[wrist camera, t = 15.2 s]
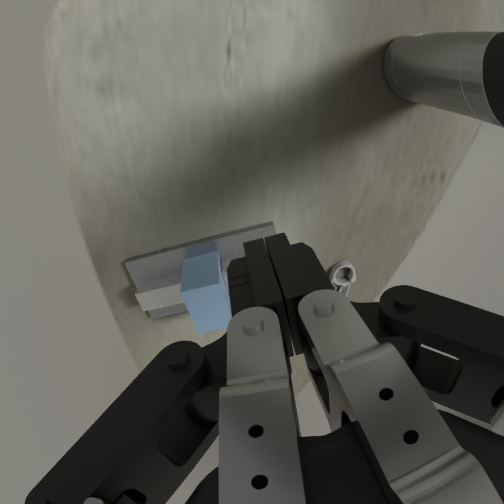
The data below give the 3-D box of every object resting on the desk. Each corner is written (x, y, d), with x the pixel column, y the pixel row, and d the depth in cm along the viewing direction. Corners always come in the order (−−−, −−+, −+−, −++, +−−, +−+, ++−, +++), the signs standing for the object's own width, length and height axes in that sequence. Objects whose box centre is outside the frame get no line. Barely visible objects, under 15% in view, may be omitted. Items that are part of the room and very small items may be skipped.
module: (217, 250, 41) (219, 283, 35) (230, 291, 44) (234, 325, 38) (183, 259, 41) (180, 292, 35) (198, 298, 44) (198, 333, 38)
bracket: (377, 269, 46) (341, 343, 52) (372, 263, 47) (338, 336, 54) (334, 263, 44) (301, 342, 51) (330, 256, 46) (299, 334, 52)
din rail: (272, 221, 41) (278, 233, 38) (284, 283, 46) (290, 298, 43) (125, 259, 41) (120, 273, 38) (152, 314, 46) (150, 330, 43)
